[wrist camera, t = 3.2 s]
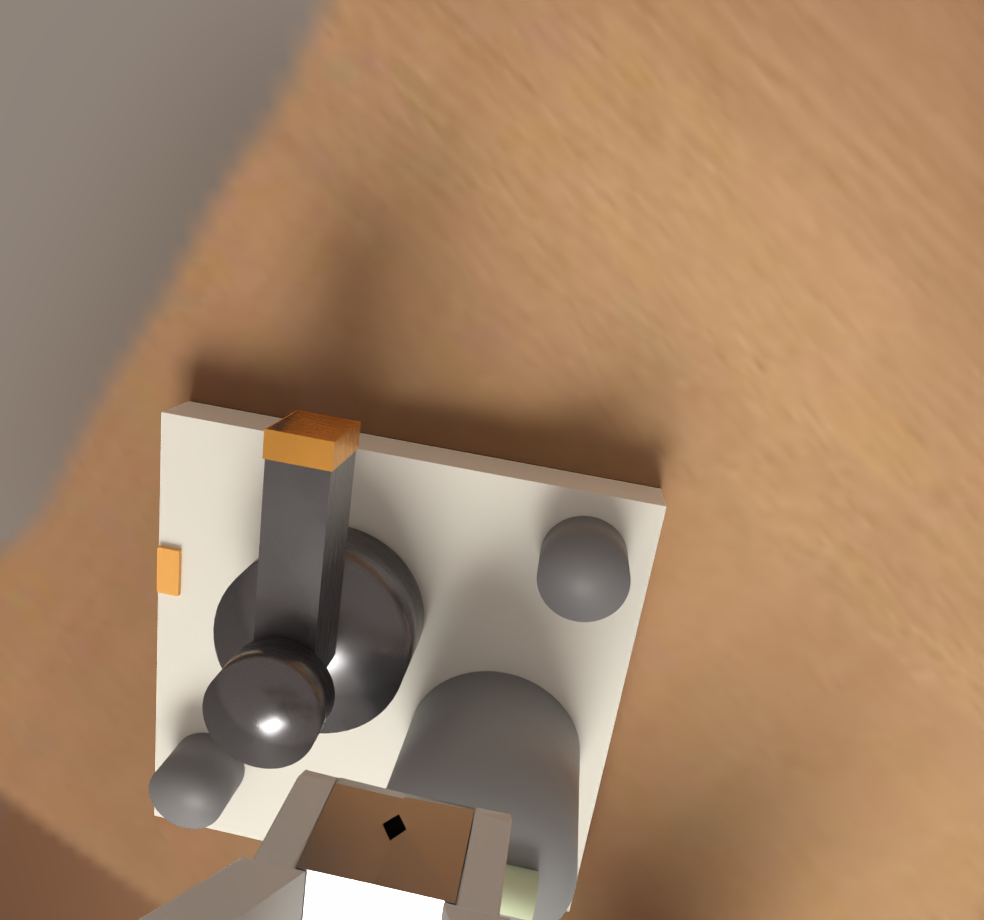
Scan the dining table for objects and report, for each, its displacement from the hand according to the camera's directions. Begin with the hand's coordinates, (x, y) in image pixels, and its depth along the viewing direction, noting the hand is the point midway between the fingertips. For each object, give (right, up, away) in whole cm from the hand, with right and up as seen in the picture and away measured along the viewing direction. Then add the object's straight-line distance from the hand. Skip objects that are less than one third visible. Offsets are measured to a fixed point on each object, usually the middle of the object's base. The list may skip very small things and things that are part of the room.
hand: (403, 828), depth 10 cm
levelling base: (-3, -3, +21) cm, 22 cm away
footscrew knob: (-4, +2, +18) cm, 18 cm away
